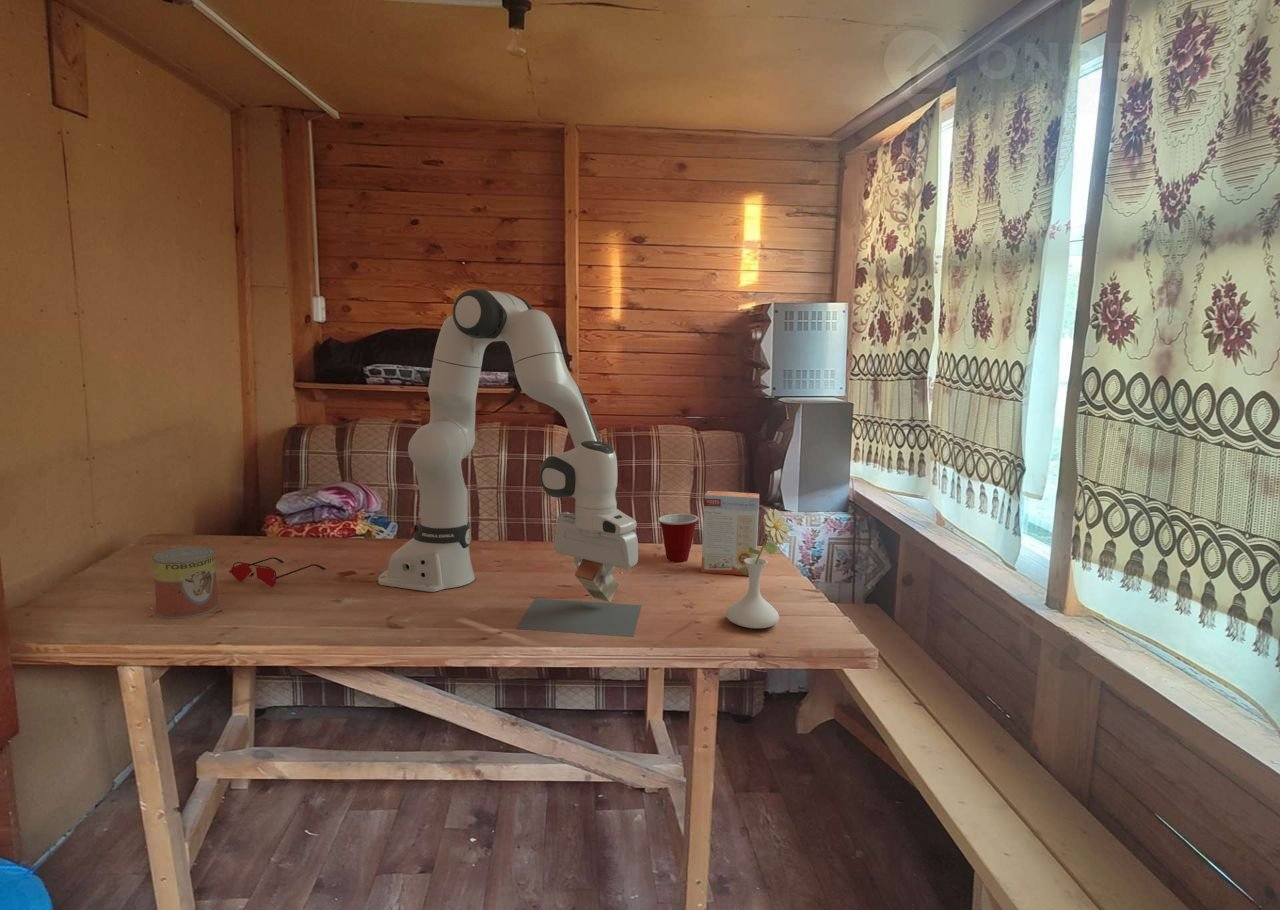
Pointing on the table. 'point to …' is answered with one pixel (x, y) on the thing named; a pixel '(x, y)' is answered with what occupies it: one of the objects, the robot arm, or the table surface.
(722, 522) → the cracker box
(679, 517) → the plastic cup
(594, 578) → the birch block
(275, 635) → the table surface
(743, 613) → the flower in vase
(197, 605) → the canned food
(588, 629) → the slate mat
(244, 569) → the glasses
